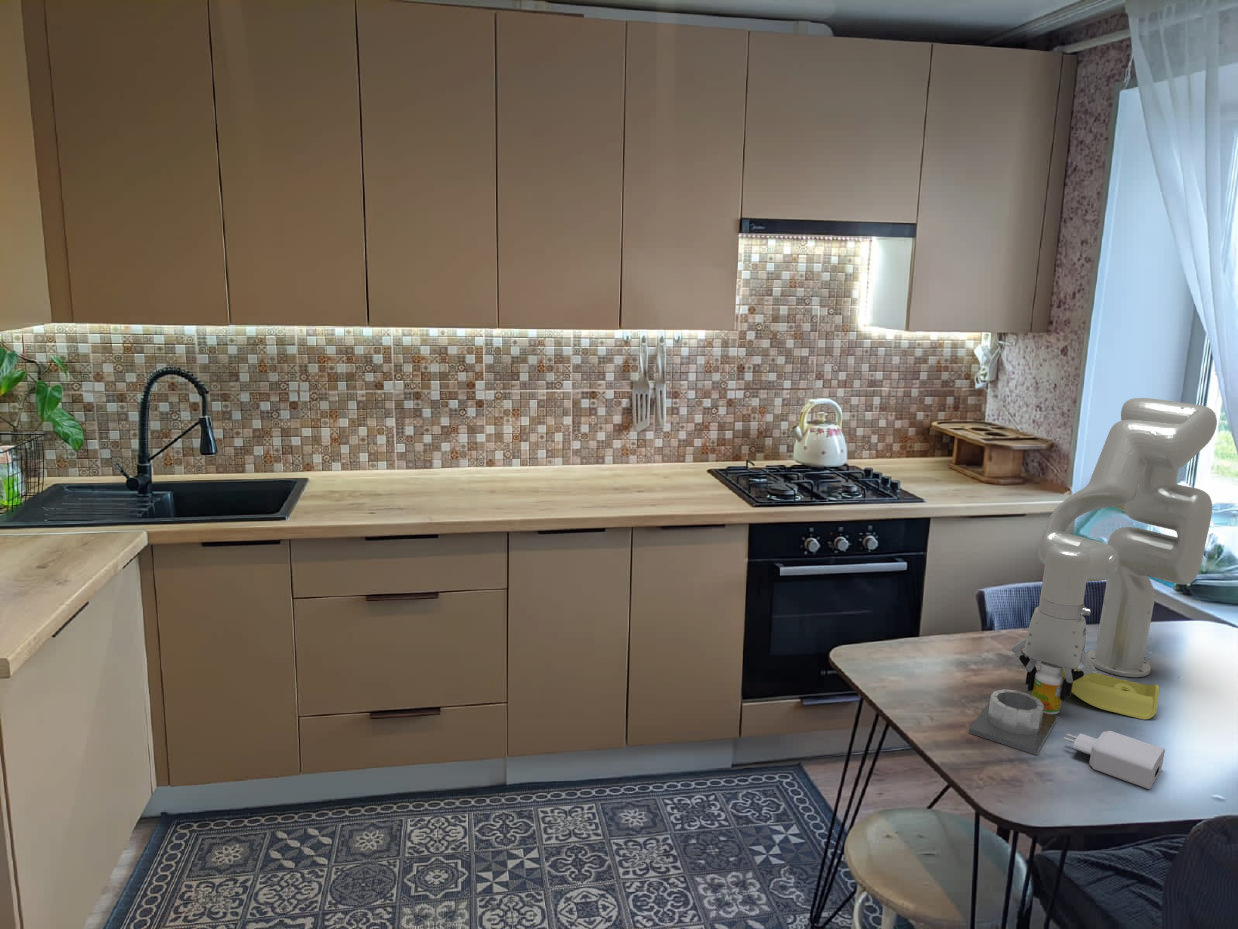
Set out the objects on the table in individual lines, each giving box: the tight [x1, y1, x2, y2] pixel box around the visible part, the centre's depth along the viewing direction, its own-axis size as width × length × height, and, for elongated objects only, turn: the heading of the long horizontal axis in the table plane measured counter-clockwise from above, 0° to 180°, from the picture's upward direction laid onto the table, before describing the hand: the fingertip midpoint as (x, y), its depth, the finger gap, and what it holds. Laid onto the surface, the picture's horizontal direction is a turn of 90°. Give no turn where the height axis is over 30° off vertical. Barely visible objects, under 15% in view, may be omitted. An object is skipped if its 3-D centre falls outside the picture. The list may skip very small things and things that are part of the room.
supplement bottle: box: [1031, 661, 1065, 716], centre depth 179 cm, size 5×5×10 cm
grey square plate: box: [968, 688, 1058, 756], centre depth 171 cm, size 16×12×6 cm
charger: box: [1063, 730, 1166, 790], centre depth 160 cm, size 5×9×15 cm
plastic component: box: [1061, 667, 1160, 720], centre depth 184 cm, size 20×7×10 cm
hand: (1047, 692), depth 179 cm, fingers closed on supplement bottle, 5 cm apart
